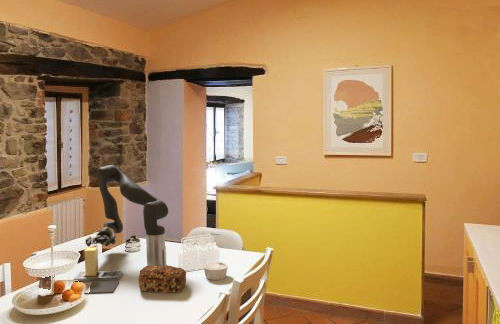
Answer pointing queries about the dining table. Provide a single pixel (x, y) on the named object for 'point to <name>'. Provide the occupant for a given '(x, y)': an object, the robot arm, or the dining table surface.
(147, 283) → the bread
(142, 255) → the dining table surface
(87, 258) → the pale yellow block
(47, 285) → the figurine
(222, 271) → the ramekin
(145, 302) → the dining table surface
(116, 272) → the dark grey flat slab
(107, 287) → the rubber mat
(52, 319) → the dining table surface
